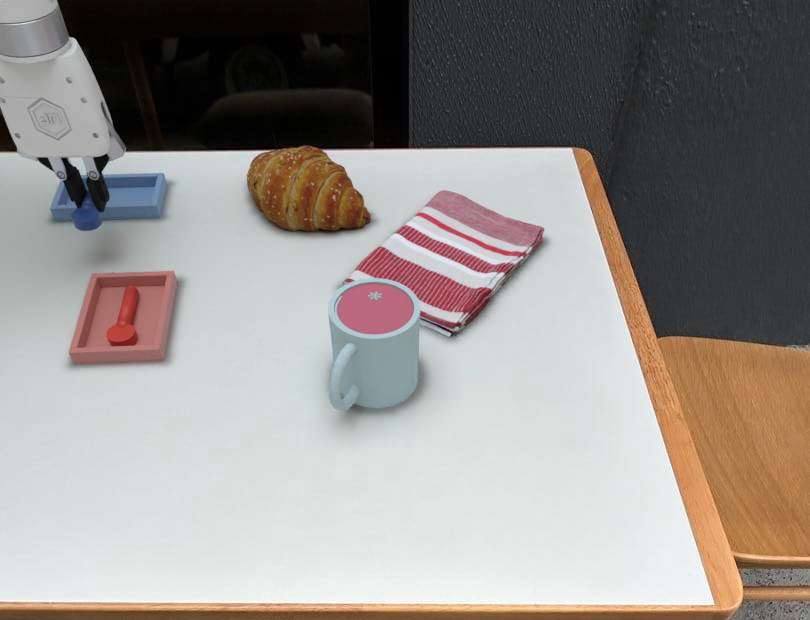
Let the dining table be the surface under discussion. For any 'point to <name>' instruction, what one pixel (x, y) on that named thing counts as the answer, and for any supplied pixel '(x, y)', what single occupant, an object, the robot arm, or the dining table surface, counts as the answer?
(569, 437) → the dining table surface
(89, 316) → the rose tray
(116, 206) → the blue tray
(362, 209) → the pastry
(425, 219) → the dish towel
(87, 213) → the blue spoon
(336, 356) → the mug
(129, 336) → the red spoon
